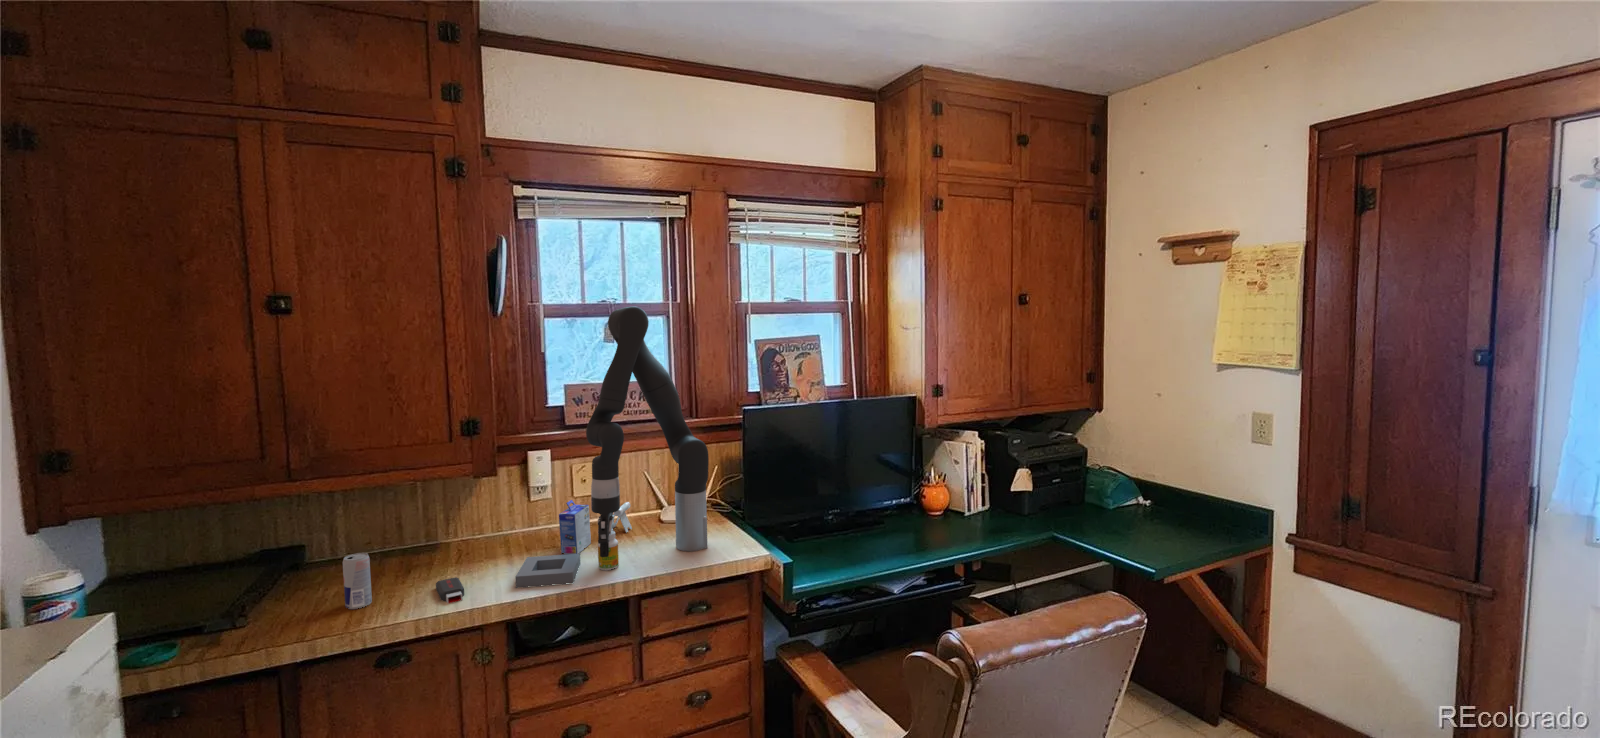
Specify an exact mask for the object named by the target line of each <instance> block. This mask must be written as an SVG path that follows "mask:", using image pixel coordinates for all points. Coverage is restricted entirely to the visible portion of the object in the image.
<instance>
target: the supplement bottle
mask: <svg viewBox="0 0 1600 738" xmlns="http://www.w3.org/2000/svg"><path fill="white" fill-rule="evenodd" d="M602 539H606V535H605V536H602ZM597 560H598V562H597V563H598V569H600V570H602V571H612V570H611V569H613V570H615V569H617V568H619V565H620V564H619V563H620V562H619V560H620V559H619V541H618V539H616V531H615V530H613V531H611V535H610V536H609V556H608V557H600V544H598V543H597ZM614 568H615V569H614Z"/></svg>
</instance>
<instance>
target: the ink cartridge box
mask: <svg viewBox="0 0 1600 738" xmlns="http://www.w3.org/2000/svg"><path fill="white" fill-rule="evenodd" d="M565 504H566V506H567V509H565V510H563V511H562V512H560V513H559V514H558V523H559V535H560V536H559V538H560V552H561V554H562V553H564V554H563V555H566V554H578V553H579V554H581V552H582V551H584V550H585V549H586V548H587V547H588V546H590V545H591V543H592V542H591V541H592V539H591V524H590V523H591V522H590V521H591V520H590V507H589V506H590V505H589V504H576V503H575V502H574V501H573V500H572V499H570V500H569V501H568V502H566V503H565ZM571 504H572V505H571ZM584 548H585V549H584Z"/></svg>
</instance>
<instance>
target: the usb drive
mask: <svg viewBox="0 0 1600 738" xmlns="http://www.w3.org/2000/svg"><path fill="white" fill-rule="evenodd" d="M464 588H465V587H464V586H463V584H462V582H461V580H460V578H458V577H457V576H455V577H450V578H445V579H441V580H438V581H436V582H435V590H436V592H437V594H438V596H439V599H440V600H441V601H443V602H446V603H447V604H451V603H456V602H460V600H461V601H463V597H464V596H465V589H464Z"/></svg>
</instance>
